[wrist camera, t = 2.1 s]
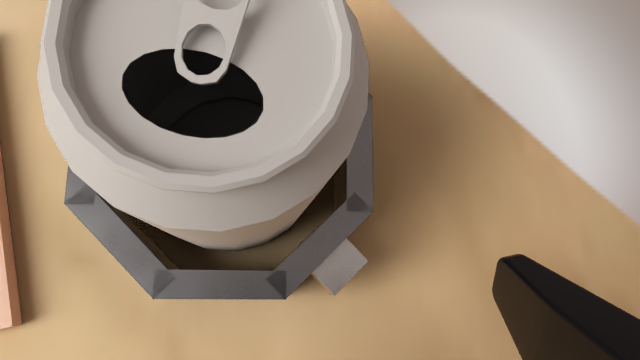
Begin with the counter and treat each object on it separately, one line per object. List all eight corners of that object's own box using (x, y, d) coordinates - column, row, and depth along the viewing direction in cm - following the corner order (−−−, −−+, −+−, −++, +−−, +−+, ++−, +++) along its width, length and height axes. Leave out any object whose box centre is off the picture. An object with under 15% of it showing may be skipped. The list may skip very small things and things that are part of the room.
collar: (425, 189, 22) (451, 176, 20) (242, 376, 20) (241, 393, 17) (220, -21, 23) (215, -64, 20) (18, 136, 21) (-21, 113, 18)
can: (117, 229, 21) (-65, 170, 9) (168, 62, 22) (71, -176, 10) (295, 270, 21) (347, 265, 9) (333, 105, 23) (417, -75, 11)
